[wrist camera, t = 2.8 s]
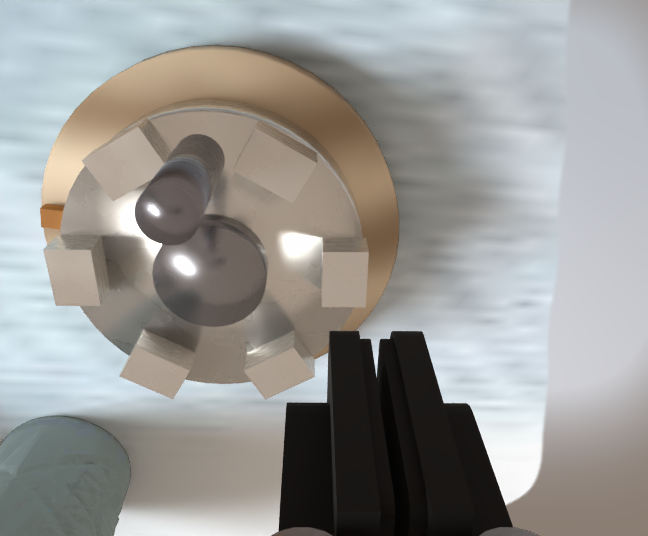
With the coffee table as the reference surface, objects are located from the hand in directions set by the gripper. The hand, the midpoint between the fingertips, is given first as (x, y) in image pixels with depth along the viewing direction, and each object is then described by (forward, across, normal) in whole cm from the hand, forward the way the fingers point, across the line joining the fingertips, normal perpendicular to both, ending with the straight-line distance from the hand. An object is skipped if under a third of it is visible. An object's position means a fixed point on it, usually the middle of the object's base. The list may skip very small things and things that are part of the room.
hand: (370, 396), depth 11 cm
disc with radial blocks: (+19, +6, +5) cm, 20 cm away
